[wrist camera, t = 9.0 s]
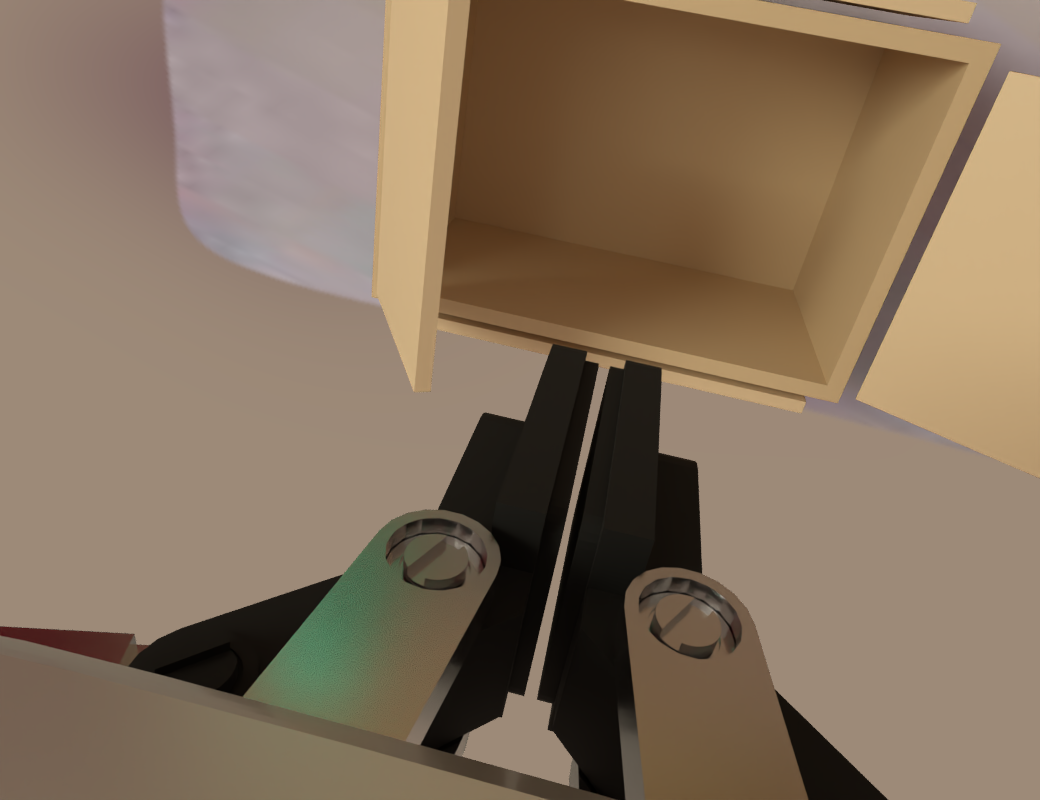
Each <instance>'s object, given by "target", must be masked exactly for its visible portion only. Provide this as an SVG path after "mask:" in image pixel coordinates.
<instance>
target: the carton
mask: <svg viewBox="0 0 1040 800" xmlns="http://www.w3.org/2000/svg"><path fill="white" fill-rule="evenodd" d="M824 1H830V2H836V3H841V4H847V5H852V6H858V7H864V8H869V9H875V10H880V11H886V12H892V13H897V14H903V15H909V16H915V17H923V18H931V19H939V20H946V21H954V22H962V23H969V20H970V18H971V16H972V13H973V11H974V9H975V6H976V4H977V3H973V2H967V1H961V0H824ZM391 2H392V0H386V7H385V28H384V49H383V70H382V91H381V112H380V133H379V154H378V175H377V196H376V217H375V238H374V259H373V280H372V297H374V298H378V296H377V275H378V256H379V236H380V217H381V197H382V178H383V158H384V139H385V119H386V100H387V80H388V61H389V41H390V22H391ZM1000 46H1001V44H998V43H993V42H987V41H982V40H976V39H971V38H965V37H959V36H954V35H948V34H943V33H937V32H932V31H926V30H921V29H915V28H910V27H904V26H899V25H893V24H887V23H882V22H876V21H871V20H865V19H860V18H854V17H849V16H843V15H837V14H832V13H826V12H821V11H815V10H810V9H804V8H799V7H793V6H787V5H782V4H776V3H771V2H765V1H760V0H470V9H469V19H468V28H467V38H466V48H465V58H464V68H463V78H462V87H461V97H460V107H459V117H458V127H457V136H456V146H455V156H454V166H453V176H452V186H451V195H450V205H449V215H448V225H447V235H446V244H445V254H444V264H443V274H442V284H441V294H440V303H439V313H438V323H437V330H441V331H446V332H450V333H455V334H459V335H463V336H468V337H472V338H476V339H480V340H485V341H489V342H493V343H498V344H502V345H506V346H511V347H515V348H520V349H524V350H528V351H532V352H537V353H541V354H546V355H549V353H550V350H551V347H552V345H553V344H557V345H561V346H566V347H570V348H575V349H579V350H584V351H587V356H586V361H590V362H594V363H599V367H602V368H606V369H610V366H612V367H617V368H621V369H624V365H625V362H626V360H629V361H633V362H638V363H642V364H647V365H651V366H656V367H660V368H662V380H661V381H663V382H667V383H671V384H676V385H680V386H685V387H689V388H694V389H698V390H702V391H707V392H711V393H715V394H719V395H724V396H729V397H732V398H737V399H741V400H745V401H750V402H754V403H758V404H763V405H767V406H771V407H776V408H780V409H784V410H789V411H793V412H797V413H802V411H803V408H804V406H805V404H806V400H805V397H804V396H808V397H813V398H817V399H821V400H826V401H830V402H835V403H838V401H839V399H840V397H841V395H842V393H843V390H844V388H845V386H846V384H847V382H848V379H849V377H850V375H851V373H852V371H853V368H854V366H855V364H856V362H857V360H858V357H859V355H860V353H861V351H862V349H863V346H864V344H865V342H866V340H867V338H868V336H869V333H870V331H871V329H872V327H873V325H874V322H875V320H876V318H877V316H878V314H879V311H880V309H881V307H882V305H883V303H884V300H885V298H886V296H887V294H888V292H889V289H890V287H891V285H892V283H893V281H894V278H895V276H896V274H897V272H898V270H899V267H900V265H901V263H902V261H903V259H904V257H905V254H906V252H907V250H908V248H909V246H910V243H911V241H912V239H913V237H914V235H915V232H916V230H917V228H918V226H919V224H920V221H921V219H922V217H923V215H924V213H925V210H926V208H927V206H928V204H929V202H930V199H931V197H932V195H933V193H934V191H935V189H936V186H937V184H938V182H939V180H940V178H941V175H942V173H943V171H944V169H945V167H946V164H947V162H948V160H949V158H950V156H951V153H952V151H953V149H954V147H955V145H956V142H957V140H958V138H959V136H960V134H961V131H962V129H963V127H964V125H965V123H966V121H967V118H968V116H969V114H970V112H971V110H972V107H973V105H974V103H975V101H976V99H977V96H978V94H979V92H980V90H981V88H982V85H983V83H984V81H985V79H986V77H987V74H988V72H989V70H990V68H991V66H992V63H993V61H994V59H995V57H996V55H997V52H998V50H999V48H1000ZM378 299H379V298H378Z"/></svg>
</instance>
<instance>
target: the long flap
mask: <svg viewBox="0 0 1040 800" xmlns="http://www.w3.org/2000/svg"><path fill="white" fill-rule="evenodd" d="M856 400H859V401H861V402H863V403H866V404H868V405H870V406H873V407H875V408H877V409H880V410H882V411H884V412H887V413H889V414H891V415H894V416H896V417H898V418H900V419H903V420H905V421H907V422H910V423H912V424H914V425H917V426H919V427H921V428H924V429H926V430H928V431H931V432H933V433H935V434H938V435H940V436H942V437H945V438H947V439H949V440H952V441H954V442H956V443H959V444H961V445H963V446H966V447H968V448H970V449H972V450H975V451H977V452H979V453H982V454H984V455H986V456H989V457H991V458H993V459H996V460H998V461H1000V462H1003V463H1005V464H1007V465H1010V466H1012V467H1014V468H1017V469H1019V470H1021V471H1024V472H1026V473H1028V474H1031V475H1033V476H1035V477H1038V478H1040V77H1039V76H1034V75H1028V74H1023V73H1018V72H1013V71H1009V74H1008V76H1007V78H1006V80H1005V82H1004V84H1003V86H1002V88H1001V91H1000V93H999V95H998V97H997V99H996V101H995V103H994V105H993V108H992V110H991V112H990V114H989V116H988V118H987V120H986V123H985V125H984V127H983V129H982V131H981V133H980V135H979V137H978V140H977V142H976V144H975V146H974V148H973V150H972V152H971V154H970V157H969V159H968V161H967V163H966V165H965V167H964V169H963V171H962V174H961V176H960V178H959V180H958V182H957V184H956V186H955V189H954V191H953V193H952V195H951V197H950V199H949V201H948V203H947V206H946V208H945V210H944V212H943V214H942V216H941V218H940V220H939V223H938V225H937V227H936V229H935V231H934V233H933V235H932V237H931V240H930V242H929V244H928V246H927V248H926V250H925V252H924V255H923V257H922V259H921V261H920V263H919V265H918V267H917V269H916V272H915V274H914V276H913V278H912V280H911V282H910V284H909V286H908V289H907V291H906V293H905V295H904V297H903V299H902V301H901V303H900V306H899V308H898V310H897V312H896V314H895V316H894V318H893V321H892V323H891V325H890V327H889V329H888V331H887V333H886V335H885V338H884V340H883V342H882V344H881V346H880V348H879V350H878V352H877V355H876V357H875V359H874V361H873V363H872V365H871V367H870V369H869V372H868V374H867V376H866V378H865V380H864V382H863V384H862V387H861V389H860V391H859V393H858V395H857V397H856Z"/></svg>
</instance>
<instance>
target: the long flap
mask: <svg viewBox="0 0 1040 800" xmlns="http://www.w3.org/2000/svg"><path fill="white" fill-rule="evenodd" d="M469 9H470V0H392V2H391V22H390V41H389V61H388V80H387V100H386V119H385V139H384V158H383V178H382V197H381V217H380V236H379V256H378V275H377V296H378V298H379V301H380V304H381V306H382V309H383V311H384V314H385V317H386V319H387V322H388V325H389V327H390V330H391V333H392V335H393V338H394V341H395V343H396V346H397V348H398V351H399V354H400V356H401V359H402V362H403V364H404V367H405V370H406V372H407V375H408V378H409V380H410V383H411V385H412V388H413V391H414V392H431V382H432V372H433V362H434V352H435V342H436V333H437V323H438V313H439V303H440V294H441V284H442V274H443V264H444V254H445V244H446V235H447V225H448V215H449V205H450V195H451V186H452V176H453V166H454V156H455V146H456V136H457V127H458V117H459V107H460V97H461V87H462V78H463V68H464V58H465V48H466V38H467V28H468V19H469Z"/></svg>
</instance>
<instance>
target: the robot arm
mask: <svg viewBox="0 0 1040 800" xmlns="http://www.w3.org/2000/svg"><path fill="white" fill-rule="evenodd" d="M586 356H587V351H584V350H579V349H575V348H570V347H566V346H561V345H557V344H553V345H552V347H551V350H550V353H549V356H548V359H547V361H546V364H545V367H544V370H543V372H542V375H541V378H540V381H539V384H538V387H537V389H536V392H535V395H534V398H533V401H532V404H531V406H530V409H529V412H528V415H527V417H526V420H525V422H524V421H520V420H515V419H511V418H507V417H502V416H498V415H494V414H489V413H483V414H482V416H481V418H480V420H479V422H478V424H477V426H476V429H475V431H474V433H473V435H472V437H471V439H470V441H469V444H468V446H467V448H466V450H465V452H464V454H463V457H462V459H461V461H460V463H459V465H458V467H457V470H456V472H455V474H454V476H453V478H452V481H451V482H450V485H449V487H448V489H447V491H446V493H445V495H444V498H443V500H442V502H441V504H440V506H439V509H438V510H421V511H416V512H410V513H406V514H404V515H402V516H400V517H397V518H395V519H393V520H391V521H390V522H389V523H388V524H387V525H385V526H384V527H383V528H382V529H381V530H380V531H379V532H378V533H377V534H376V535H375V537H374V538H373V539H372V540H371V541H370V543H369V544H368V545H367V546H366V547H365V549H364V550H363V551H362V553H361V554H360V555H359V556H358V557H357V558H356V560H355V561H354V562H353V563H352V564H351V566H350V567H349V568H348V570H347V571H346V572H345V573H344V574H343V575H340V576H337V577H334V578H331V579H328V580H325V581H322V582H319V583H316V584H313V585H310V586H307V587H304V588H301V589H298V590H295V591H292V592H289V593H286V594H283V595H280V596H277V597H274V598H271V599H268V600H265V601H262V602H259V603H256V604H253V605H250V606H247V607H244V608H241V609H238V610H235V611H232V612H229V613H226V614H223V615H220V616H217V617H214V618H211V619H208V620H205V621H202V622H199V623H196V624H193V625H190V626H187V627H184V628H181V629H179V630H176V631H174V632H172V633H170V634H168V635H166V636H164V637H161V638H159V639H157V640H156V641H155V642H153V643H152V644H151V645H136V639H135V634H128V633H110V632H93V631H92V632H91V631H75V630H57V629H40V628H38V629H37V628H22V627H4V626H0V800H887V798H886V797H885V796H884V795H883V794H882V793H880V791H878V790H877V789H876V788H875V787H874V786H873V785H872V784H871V783H870V782H869V781H868V780H867V779H866V778H865V777H864V776H863V775H862V774H861V773H860V772H859V771H858V770H857V769H856V768H855V767H854V766H853V765H852V764H851V763H850V762H849V761H848V760H847V759H846V758H845V757H844V756H843V755H842V754H841V753H839V751H837V750H836V749H835V748H834V747H833V746H832V745H831V744H830V743H829V742H828V741H827V740H826V739H825V738H824V737H823V736H822V735H821V734H820V733H819V732H818V731H817V730H816V729H815V728H814V727H813V726H812V725H811V724H810V723H809V722H808V721H807V720H806V719H805V718H804V717H803V716H802V715H801V714H800V713H799V712H798V711H796V710H795V709H794V708H793V707H792V706H791V705H790V704H789V703H788V702H787V701H786V700H785V699H784V698H783V697H782V696H781V695H780V694H779V693H778V692H777V691H776V690H775V689H774V685H773V682H772V679H771V676H770V672H769V669H768V666H767V662H766V659H765V656H764V653H763V650H762V646H761V643H760V640H759V636H758V633H757V630H756V626H755V624H754V622H753V620H752V618H751V616H750V614H749V611H748V609H747V608H746V607H745V606H744V604H743V603H742V602H741V601H740V600H739V599H738V598H737V596H736V595H735V594H734V593H732V592H731V591H730V590H728V589H727V588H726V587H724V586H723V585H722V584H720V583H719V582H717V581H715V580H713V579H711V578H709V577H707V576H705V575H703V574H702V561H701V560H702V559H701V535H700V511H699V489H698V488H699V486H698V468H697V463H696V462H695V461H691V460H687V459H683V458H679V457H674V456H670V455H666V454H662V453H658V449H659V426H660V402H661V380H662V368H660V367H656V366H651V365H647V364H642V363H638V362H633V361H629V360H626V362H625V365H624V369H621V368H617V367H612V366H610V369H609V373H608V377H607V381H606V385H605V389H604V393H603V398H602V401H601V405H600V410H599V414H598V418H597V422H596V426H595V430H594V434H593V438H592V442H591V447H590V451H589V455H588V459H587V463H586V467H585V471H584V475H583V479H582V483H581V488H580V491H579V495H578V500H577V504H576V508H575V512H574V517H573V521H572V526H571V531H570V536H569V541H568V546H567V552H566V556H565V562H564V566H563V571H562V576H561V581H560V586H559V591H558V596H557V602H556V606H555V611H554V616H553V622H552V627H551V631H550V636H549V642H548V647H547V652H546V656H545V662H544V666H543V671H542V676H541V682H540V686H539V691H538V697H537V700H541V701H545V702H548V703H552V708H551V714H550V719H549V725H548V730H550V731H553V732H554V733H555V734H556V736H557V737H558V738H559V740H560V741H561V743H562V744H563V745H564V747H565V748H566V749H567V751H568V752H569V753H570V755H571V756H572V758H573V760H572V763H571V769H570V776H569V786H566V785H562V784H559V783H555V782H552V781H548V780H544V779H541V778H537V777H534V776H530V775H526V774H522V773H519V772H515V771H512V770H508V769H504V768H501V767H497V766H494V765H490V764H486V763H482V762H479V761H476V760H472V759H468V758H465V757H462V755H463V753H464V751H465V748H466V744H467V740H468V737H469V732H470V731H472V730H474V729H476V728H478V727H480V726H482V725H484V724H486V723H488V722H490V721H492V720H494V719H496V718H498V717H502V715H503V711H504V707H505V702H506V698H507V694H508V692H511V693H515V694H519V695H522V696H524V694H525V690H526V685H527V681H528V677H529V672H530V668H531V664H532V660H533V656H534V652H535V648H536V644H537V639H538V635H539V631H540V627H541V622H542V618H543V614H544V610H545V605H546V601H547V597H548V593H549V589H550V585H551V581H552V576H553V572H554V568H555V564H556V559H557V555H558V551H559V547H560V543H561V539H562V534H563V530H564V525H565V521H566V517H567V512H568V508H569V503H570V498H571V494H572V489H573V484H574V479H575V475H576V470H577V465H578V461H579V456H580V451H581V447H582V442H583V437H584V433H585V428H586V423H587V418H588V413H589V409H590V404H591V400H592V395H593V390H594V386H595V381H596V376H597V371H598V367H599V363H594V362H590V361H586Z"/></svg>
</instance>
